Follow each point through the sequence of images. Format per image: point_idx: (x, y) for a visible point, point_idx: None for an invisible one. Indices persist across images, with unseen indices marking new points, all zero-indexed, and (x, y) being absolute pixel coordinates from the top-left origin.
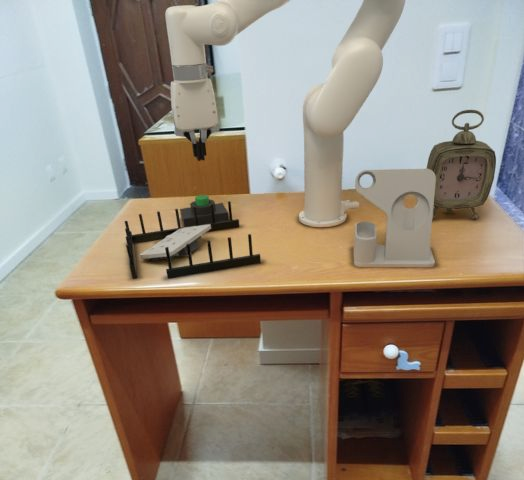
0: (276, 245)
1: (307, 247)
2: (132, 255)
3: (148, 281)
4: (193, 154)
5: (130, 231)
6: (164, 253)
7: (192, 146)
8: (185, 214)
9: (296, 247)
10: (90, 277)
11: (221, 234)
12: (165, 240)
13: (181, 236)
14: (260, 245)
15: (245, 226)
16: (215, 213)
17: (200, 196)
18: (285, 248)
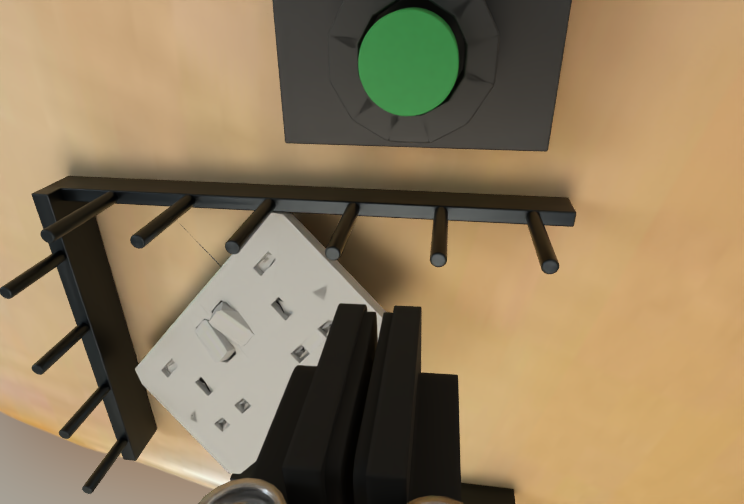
0: (622, 424)
1: (712, 476)
2: (114, 403)
3: (190, 453)
4: (296, 373)
5: (45, 198)
6: (215, 458)
7: (264, 455)
8: (300, 78)
9: (677, 462)
10: (22, 374)
11: (458, 252)
12: (211, 357)
13: (271, 362)
14: (567, 402)
15: (597, 212)
16: (472, 140)
17: (401, 46)
18: (637, 453)
